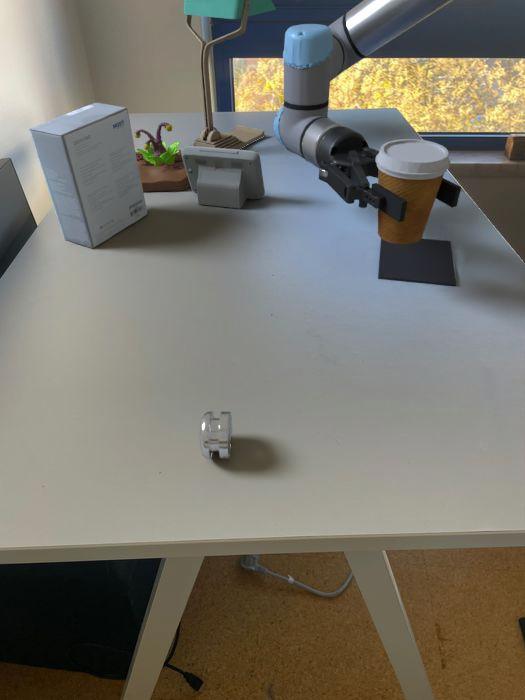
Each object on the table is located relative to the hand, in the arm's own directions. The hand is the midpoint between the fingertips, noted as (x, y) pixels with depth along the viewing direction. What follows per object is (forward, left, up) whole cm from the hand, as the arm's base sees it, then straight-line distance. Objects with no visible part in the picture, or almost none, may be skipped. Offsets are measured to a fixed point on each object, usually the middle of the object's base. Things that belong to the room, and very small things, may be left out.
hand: (430, 204), depth 67 cm
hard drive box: (+56, -15, -16) cm, 60 cm away
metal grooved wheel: (+21, +32, -16) cm, 41 cm away
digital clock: (+37, -31, -16) cm, 51 cm away
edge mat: (-1, -13, -16) cm, 21 cm away
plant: (+54, -41, -16) cm, 70 cm away
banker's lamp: (+44, -62, -16) cm, 78 cm away
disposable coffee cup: (+3, -4, -7) cm, 8 cm away
